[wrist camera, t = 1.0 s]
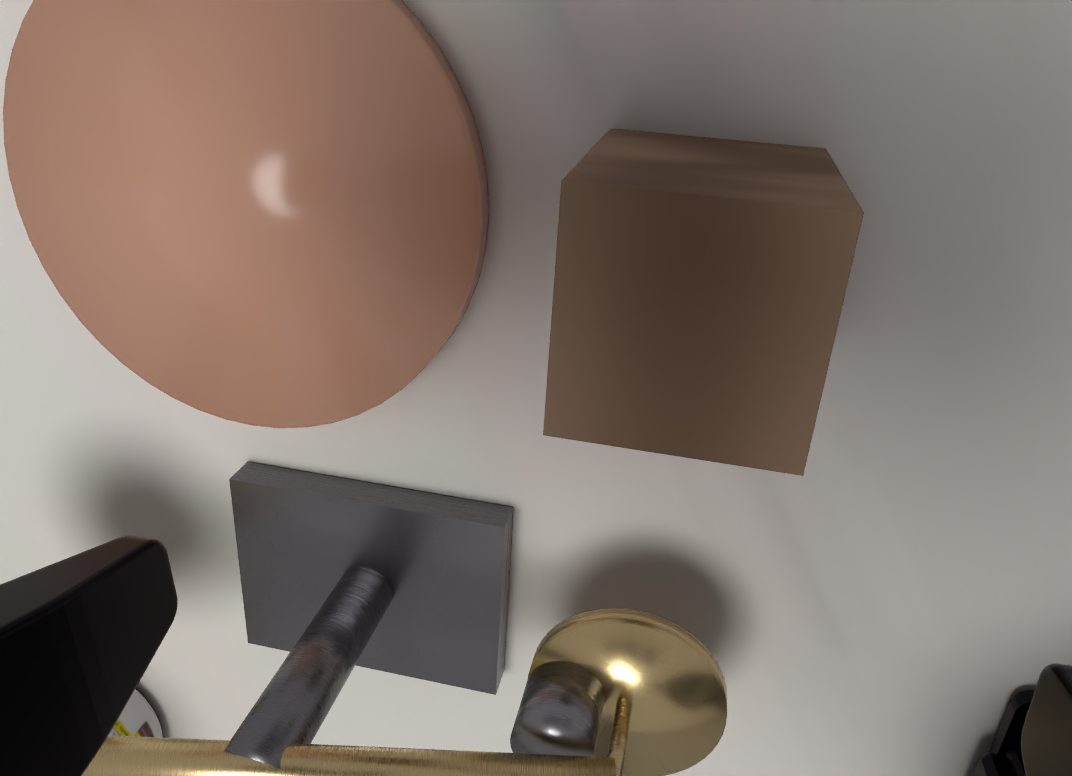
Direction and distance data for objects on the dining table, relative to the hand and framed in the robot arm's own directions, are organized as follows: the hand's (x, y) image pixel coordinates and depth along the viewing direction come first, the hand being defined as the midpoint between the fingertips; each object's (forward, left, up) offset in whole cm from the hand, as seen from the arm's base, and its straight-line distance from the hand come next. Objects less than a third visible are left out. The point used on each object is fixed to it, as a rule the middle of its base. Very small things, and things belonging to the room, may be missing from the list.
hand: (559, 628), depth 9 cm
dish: (+10, -1, -13) cm, 16 cm away
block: (-1, -1, -13) cm, 13 cm away
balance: (+7, +10, -13) cm, 18 cm away
